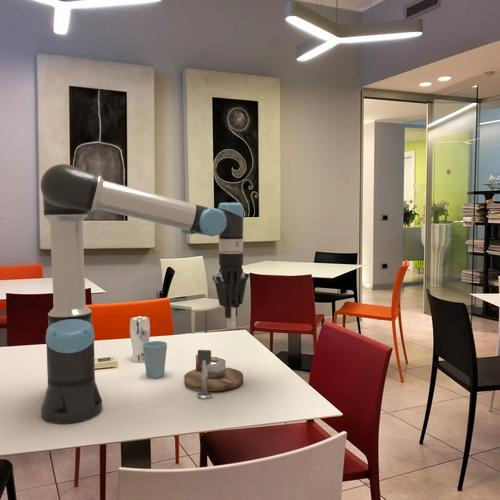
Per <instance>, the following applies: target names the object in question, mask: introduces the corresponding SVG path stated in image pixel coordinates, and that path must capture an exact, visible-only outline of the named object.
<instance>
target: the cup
mask: <svg viewBox="0 0 500 500" xmlns="http://www.w3.org/2000/svg"><path fill="white" fill-rule="evenodd" d="M167 347H168V343H167V342H166V341H162V340H154V341H153V340H151V341H150V340H149V342H146V343H143V351H144V360H145V362H144V366H145V374H146V375H145V376H146V377H147V378H149V379H160V378H162V377H164V376H165V370H166V369H165V367H166V357H167V350H168V349H167Z"/></svg>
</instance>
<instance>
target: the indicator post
mask: <svg viewBox="0 0 500 500" xmlns="http://www.w3.org/2000/svg"><path fill="white" fill-rule="evenodd" d="M197 355H198V363H199V364H202V390H201V392H198V393H197V394H196V398H197V399H199V400H205V401H206V400H210V399H212V398H213V393H212V392H211V391H208V373H207V364H211V357H212V350H210V349H198V350H197Z"/></svg>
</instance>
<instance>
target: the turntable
mask: <svg viewBox="0 0 500 500" xmlns="http://www.w3.org/2000/svg"><path fill="white" fill-rule="evenodd" d="M183 379H184V380H183V383H184V385H185V386H186V387H188V388H190V389H194V390H197V391H198V390H199V391H202V364H199V363H198V354H196V355H195V369H192V370H190V371H187V373H185V374H184V376H183ZM243 383H244V374H243V372H242V371H240V370H238V369H235V368H230V367H226V376H225V377H223V378H220V379H208V392H216V391H217V392H218V391H225V390H231V389H233V388H237V387H240V385H242V384H243Z"/></svg>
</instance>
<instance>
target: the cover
mask: <svg viewBox="0 0 500 500" xmlns="http://www.w3.org/2000/svg"><path fill="white" fill-rule="evenodd" d="M226 366H227V365H226V359H224V358H221V357H220V358H219V357H217V356H211V364H207V373H208V379H220V378H223V377H225V376H226V368H227V367H226Z"/></svg>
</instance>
